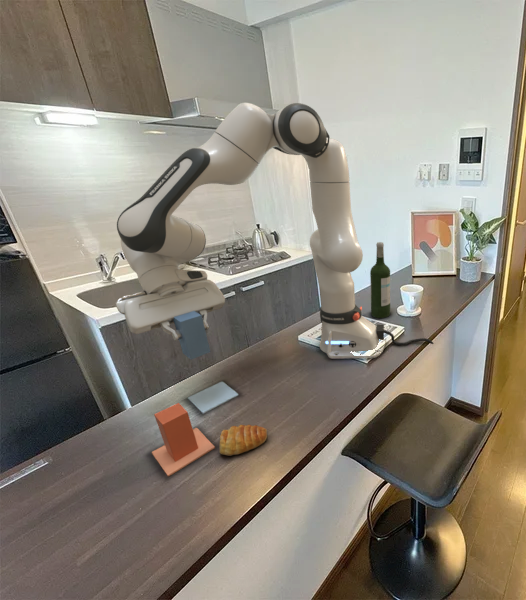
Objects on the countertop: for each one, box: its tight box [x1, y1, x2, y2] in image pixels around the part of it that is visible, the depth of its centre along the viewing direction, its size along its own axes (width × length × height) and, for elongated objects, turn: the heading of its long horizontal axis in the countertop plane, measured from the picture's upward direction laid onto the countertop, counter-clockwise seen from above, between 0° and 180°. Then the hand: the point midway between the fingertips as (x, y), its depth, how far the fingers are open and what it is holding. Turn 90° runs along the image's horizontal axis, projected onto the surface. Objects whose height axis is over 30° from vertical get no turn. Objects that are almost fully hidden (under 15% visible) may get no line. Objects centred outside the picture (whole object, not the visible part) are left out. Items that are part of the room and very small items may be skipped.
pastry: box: [219, 424, 268, 457], centre depth 71 cm, size 9×7×4 cm
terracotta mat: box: [151, 427, 216, 478], centre depth 70 cm, size 9×9×1 cm
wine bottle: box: [369, 241, 391, 319], centre depth 129 cm, size 8×8×30 cm
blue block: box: [173, 311, 211, 361], centre depth 77 cm, size 4×4×10 cm
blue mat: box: [187, 380, 239, 415], centre depth 86 cm, size 9×9×1 cm
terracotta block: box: [153, 402, 198, 462], centre depth 68 cm, size 4×4×10 cm
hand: (193, 334), depth 77 cm, fingers closed on blue block, 4 cm apart
